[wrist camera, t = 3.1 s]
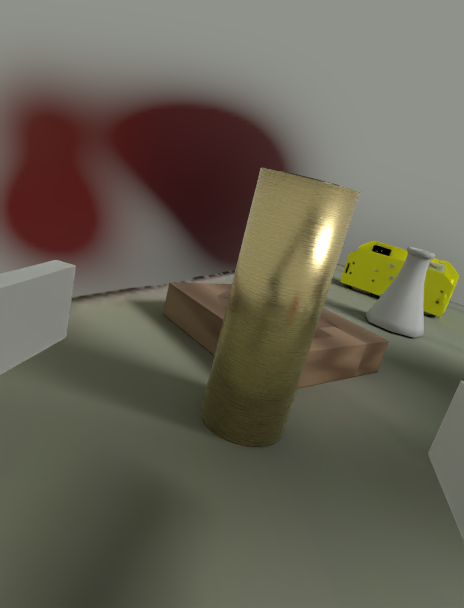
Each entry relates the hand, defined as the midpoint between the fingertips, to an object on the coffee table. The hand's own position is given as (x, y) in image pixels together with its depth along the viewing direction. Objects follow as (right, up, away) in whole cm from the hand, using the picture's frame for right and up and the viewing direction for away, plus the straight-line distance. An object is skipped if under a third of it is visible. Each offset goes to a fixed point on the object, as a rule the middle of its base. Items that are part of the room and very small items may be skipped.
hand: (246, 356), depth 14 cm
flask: (+20, -1, +39) cm, 44 cm away
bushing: (0, -5, +11) cm, 12 cm away
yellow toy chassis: (+25, +2, +54) cm, 60 cm away
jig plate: (+3, -2, +24) cm, 24 cm away
